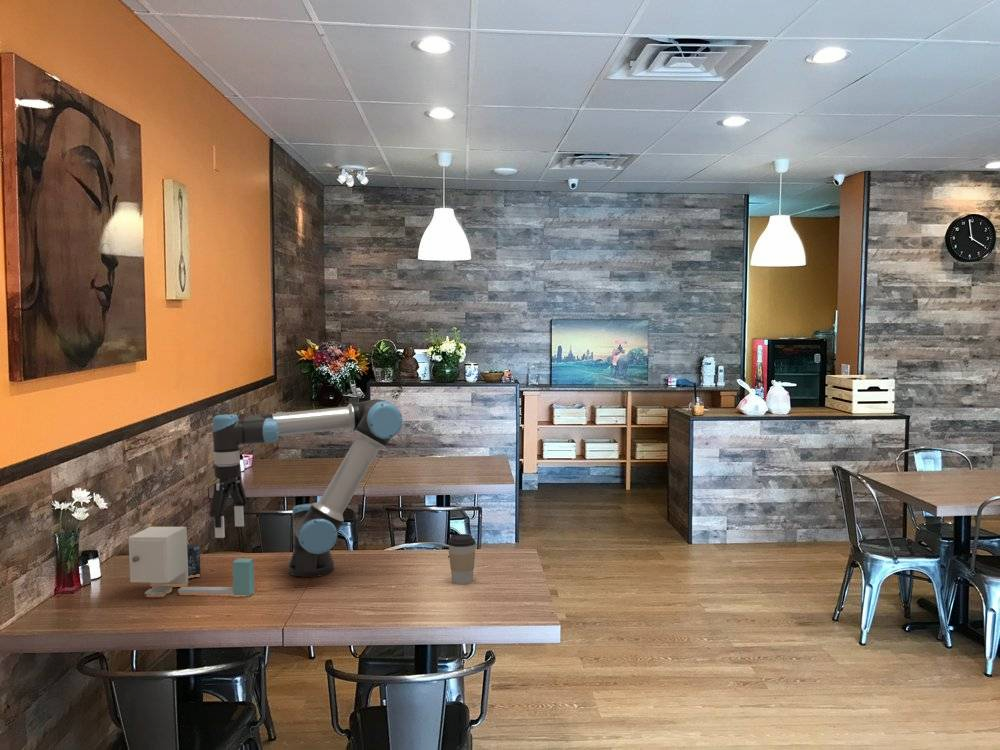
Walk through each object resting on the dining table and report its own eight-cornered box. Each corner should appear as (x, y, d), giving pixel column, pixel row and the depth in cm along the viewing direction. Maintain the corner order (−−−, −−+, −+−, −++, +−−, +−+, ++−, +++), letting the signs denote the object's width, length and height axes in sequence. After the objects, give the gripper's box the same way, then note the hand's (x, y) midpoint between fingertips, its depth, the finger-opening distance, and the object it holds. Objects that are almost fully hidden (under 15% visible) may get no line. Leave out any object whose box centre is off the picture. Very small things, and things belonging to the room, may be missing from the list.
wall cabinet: (188, 586, 252) (186, 526, 251) (166, 601, 238) (164, 538, 237) (152, 586, 253) (150, 526, 252) (128, 601, 239) (126, 538, 238)
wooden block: (172, 592, 248) (172, 586, 248) (163, 598, 242) (163, 592, 242) (154, 592, 249) (154, 586, 248) (144, 598, 243) (144, 592, 242)
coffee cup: (478, 576, 259) (477, 532, 258) (474, 585, 250) (473, 539, 249) (451, 576, 259) (450, 531, 259) (446, 585, 250) (445, 539, 250)
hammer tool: (254, 593, 245) (253, 558, 245) (249, 597, 241) (248, 562, 241) (183, 592, 247) (182, 557, 246) (177, 596, 243) (176, 561, 242)
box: (177, 582, 256) (176, 551, 256) (170, 578, 261) (169, 547, 260) (201, 577, 262) (200, 546, 261) (194, 573, 266) (193, 543, 265)
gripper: (233, 457, 256) (236, 521, 257) (195, 471, 231) (199, 542, 232) (255, 457, 255) (258, 521, 256) (220, 471, 230) (223, 542, 231)
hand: (230, 531), depth 244 cm, fingers open, 13 cm apart
